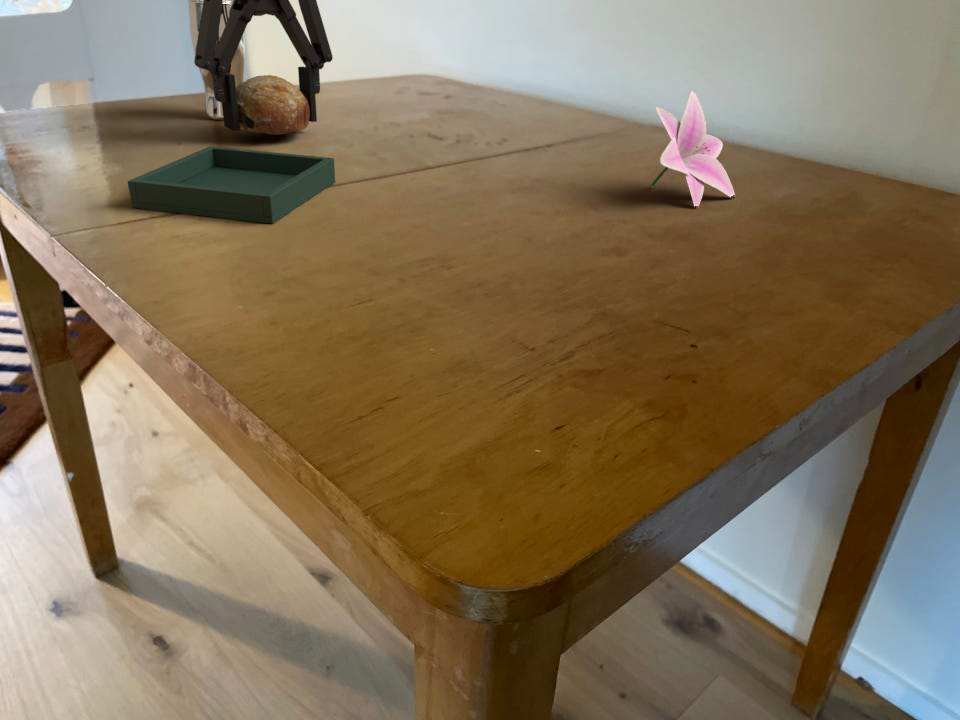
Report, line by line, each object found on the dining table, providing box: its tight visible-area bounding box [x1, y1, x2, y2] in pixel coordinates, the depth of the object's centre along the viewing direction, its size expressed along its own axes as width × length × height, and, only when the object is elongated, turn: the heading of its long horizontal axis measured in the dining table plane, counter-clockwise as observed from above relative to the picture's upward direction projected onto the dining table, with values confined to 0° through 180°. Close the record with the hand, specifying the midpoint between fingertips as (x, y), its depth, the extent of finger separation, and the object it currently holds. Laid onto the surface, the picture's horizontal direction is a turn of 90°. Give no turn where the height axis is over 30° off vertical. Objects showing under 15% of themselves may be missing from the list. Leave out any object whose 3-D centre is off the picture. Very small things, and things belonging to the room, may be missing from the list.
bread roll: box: [236, 74, 310, 135], centre depth 99 cm, size 10×10×8 cm
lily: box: [650, 90, 736, 207], centre depth 82 cm, size 12×12×10 cm
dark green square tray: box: [127, 145, 336, 225], centre depth 78 cm, size 15×15×3 cm
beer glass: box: [187, 0, 246, 121], centre depth 108 cm, size 7×7×15 cm
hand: (271, 124), depth 100 cm, fingers closed on bread roll, 10 cm apart
